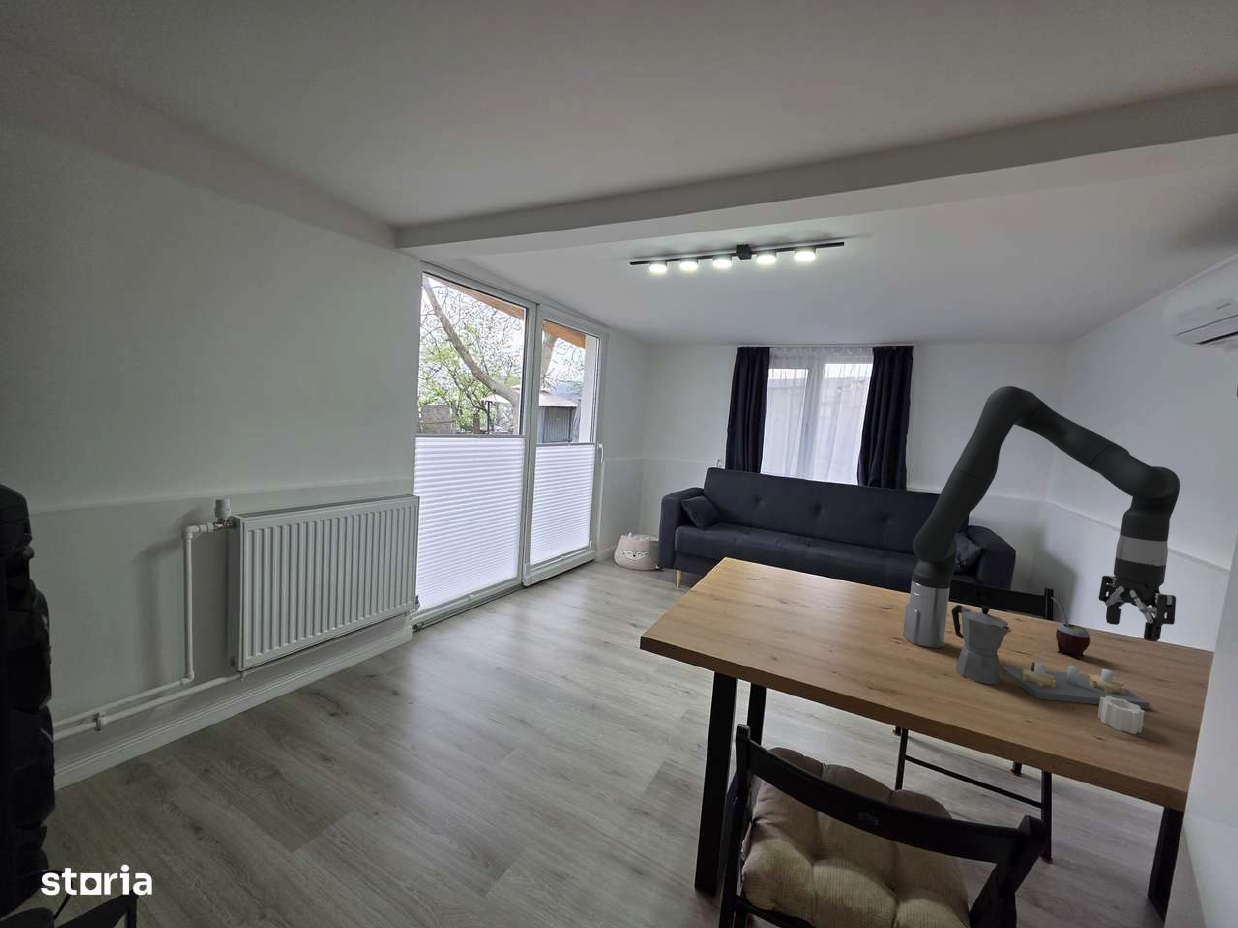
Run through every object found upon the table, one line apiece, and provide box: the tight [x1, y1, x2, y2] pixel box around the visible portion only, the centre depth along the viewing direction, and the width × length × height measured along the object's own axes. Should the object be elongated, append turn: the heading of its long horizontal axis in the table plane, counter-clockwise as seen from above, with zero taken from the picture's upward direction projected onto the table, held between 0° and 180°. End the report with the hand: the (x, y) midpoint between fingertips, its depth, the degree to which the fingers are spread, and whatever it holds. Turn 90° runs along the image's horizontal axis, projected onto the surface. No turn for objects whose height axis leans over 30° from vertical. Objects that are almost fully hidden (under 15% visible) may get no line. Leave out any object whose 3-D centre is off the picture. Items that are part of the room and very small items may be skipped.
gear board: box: [1001, 661, 1151, 710], centre depth 119 cm, size 24×12×6 cm, turn 85°
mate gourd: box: [1050, 596, 1091, 661], centre depth 139 cm, size 8×8×15 cm
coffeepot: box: [951, 604, 1012, 685], centre depth 124 cm, size 15×9×18 cm, turn 13°
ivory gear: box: [1097, 696, 1145, 735], centre depth 105 cm, size 7×7×4 cm
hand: (1131, 631), depth 107 cm, fingers open, 8 cm apart
